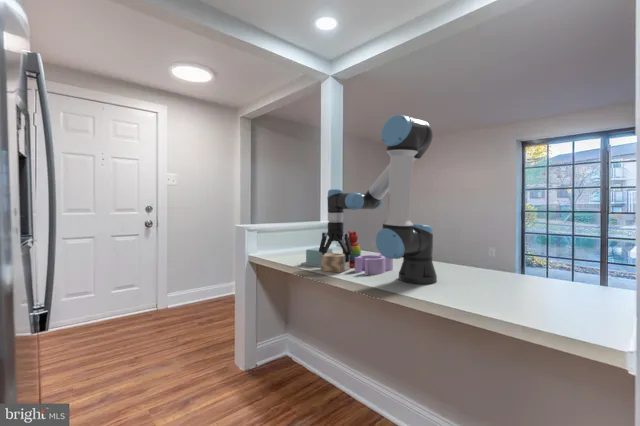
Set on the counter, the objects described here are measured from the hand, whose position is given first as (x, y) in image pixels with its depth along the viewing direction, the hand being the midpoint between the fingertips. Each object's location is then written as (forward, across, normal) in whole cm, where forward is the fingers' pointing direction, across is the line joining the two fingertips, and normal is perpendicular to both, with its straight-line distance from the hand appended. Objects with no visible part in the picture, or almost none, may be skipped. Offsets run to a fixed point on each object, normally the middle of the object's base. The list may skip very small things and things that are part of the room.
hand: (335, 267), depth 152 cm
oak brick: (+1, 0, 0) cm, 1 cm away
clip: (+1, -17, -8) cm, 19 cm away
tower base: (+1, +14, -8) cm, 16 cm away
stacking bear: (+1, -2, -13) cm, 13 cm away
